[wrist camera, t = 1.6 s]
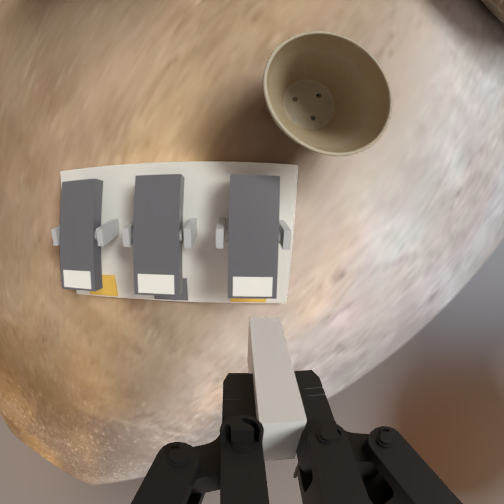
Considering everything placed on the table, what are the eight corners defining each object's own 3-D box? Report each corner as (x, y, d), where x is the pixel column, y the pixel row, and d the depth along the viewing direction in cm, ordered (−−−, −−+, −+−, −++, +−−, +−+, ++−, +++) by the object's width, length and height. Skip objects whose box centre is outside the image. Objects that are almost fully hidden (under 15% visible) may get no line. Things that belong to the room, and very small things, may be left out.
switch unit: (65, 170, 23) (39, 175, 19) (295, 164, 25) (308, 166, 20) (80, 290, 28) (61, 310, 23) (284, 298, 29) (293, 323, 25)
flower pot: (285, 172, 25) (302, 178, 18) (237, 80, 22) (238, 54, 15) (371, 134, 24) (411, 131, 17) (328, 48, 21) (355, 20, 14)
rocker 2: (139, 178, 23) (133, 175, 21) (186, 177, 23) (183, 173, 21) (138, 290, 23) (131, 294, 22) (184, 292, 24) (181, 297, 22)
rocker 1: (69, 184, 22) (60, 181, 20) (105, 180, 22) (97, 178, 21) (68, 285, 23) (60, 288, 21) (104, 287, 23) (96, 291, 21)
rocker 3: (228, 177, 23) (227, 173, 21) (279, 179, 23) (282, 175, 22) (225, 293, 24) (225, 298, 22) (276, 294, 24) (279, 298, 22)
